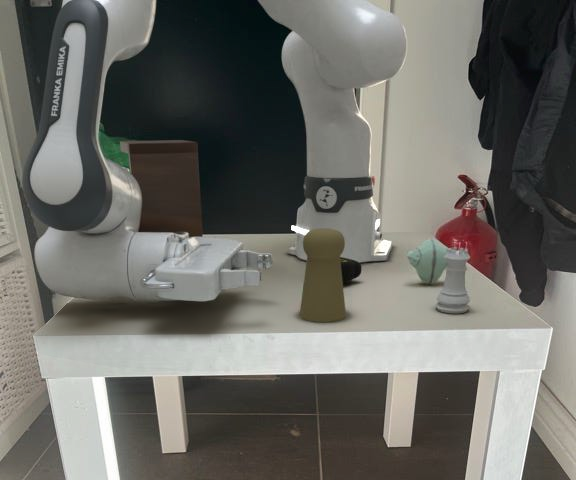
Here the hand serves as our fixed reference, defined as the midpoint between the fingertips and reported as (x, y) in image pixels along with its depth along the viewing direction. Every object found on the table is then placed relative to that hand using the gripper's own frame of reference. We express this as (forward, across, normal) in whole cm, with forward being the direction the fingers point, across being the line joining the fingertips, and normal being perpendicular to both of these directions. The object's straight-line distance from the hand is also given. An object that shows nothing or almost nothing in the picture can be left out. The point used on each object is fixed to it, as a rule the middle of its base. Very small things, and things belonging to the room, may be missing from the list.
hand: (266, 268), depth 82 cm
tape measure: (+8, +19, +6) cm, 21 cm away
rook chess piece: (+24, +4, +6) cm, 25 cm away
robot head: (+22, +18, +6) cm, 30 cm away
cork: (+7, 0, +6) cm, 10 cm away
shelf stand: (-20, +21, +6) cm, 30 cm away
